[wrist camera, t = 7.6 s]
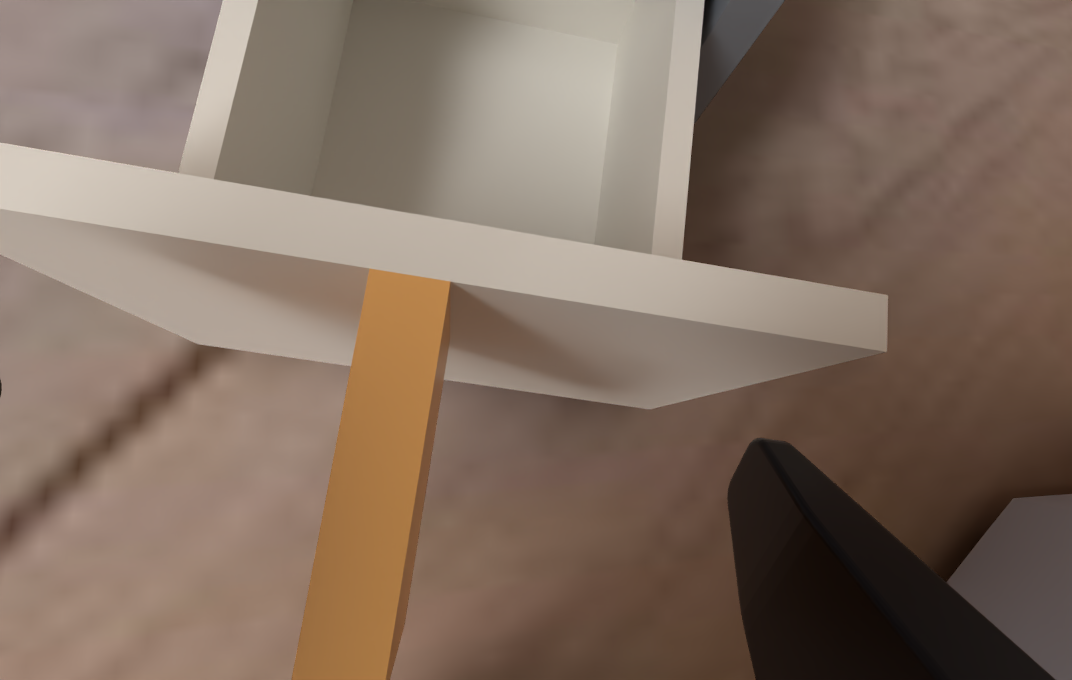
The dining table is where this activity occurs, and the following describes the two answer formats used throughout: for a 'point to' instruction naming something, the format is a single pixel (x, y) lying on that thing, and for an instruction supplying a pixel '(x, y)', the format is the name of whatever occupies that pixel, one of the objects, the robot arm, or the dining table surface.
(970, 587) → the bottle
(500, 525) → the dining table surface
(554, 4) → the white drawer unit
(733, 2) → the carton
